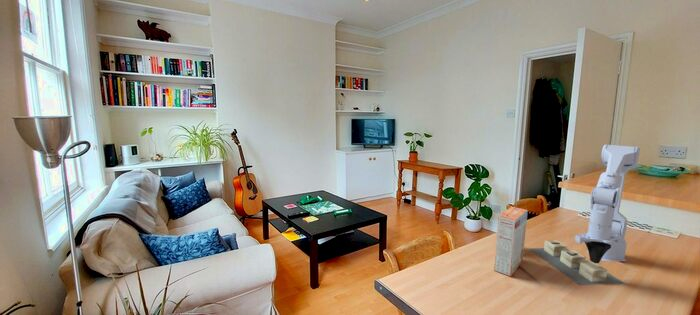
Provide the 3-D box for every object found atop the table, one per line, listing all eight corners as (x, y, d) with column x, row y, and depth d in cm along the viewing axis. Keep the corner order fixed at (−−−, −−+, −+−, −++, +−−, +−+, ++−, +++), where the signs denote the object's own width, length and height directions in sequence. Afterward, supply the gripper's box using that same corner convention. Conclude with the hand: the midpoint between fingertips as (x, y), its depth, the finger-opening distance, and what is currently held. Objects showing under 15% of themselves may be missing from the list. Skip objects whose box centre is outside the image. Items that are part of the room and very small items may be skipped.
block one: (555, 249, 118) (556, 239, 118) (565, 255, 113) (566, 245, 113) (543, 249, 118) (544, 240, 117) (552, 256, 113) (554, 246, 112)
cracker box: (505, 257, 113) (511, 205, 110) (523, 262, 109) (529, 209, 106) (492, 270, 104) (497, 214, 100) (510, 277, 99) (517, 219, 96)
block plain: (592, 272, 102) (594, 262, 101) (605, 281, 97) (607, 270, 96) (578, 273, 101) (580, 262, 101) (591, 281, 96) (593, 270, 96)
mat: (565, 248, 120) (565, 247, 120) (625, 285, 96) (625, 283, 95) (528, 249, 119) (528, 248, 119) (579, 286, 95) (579, 284, 94)
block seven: (572, 260, 110) (574, 250, 109) (583, 267, 105) (585, 256, 104) (559, 260, 110) (561, 250, 109) (570, 267, 105) (572, 257, 104)
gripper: (590, 228, 91) (584, 268, 94) (633, 228, 92) (626, 267, 94) (572, 220, 98) (566, 257, 100) (612, 219, 99) (606, 256, 101)
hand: (594, 261), depth 98 cm, fingers closed
